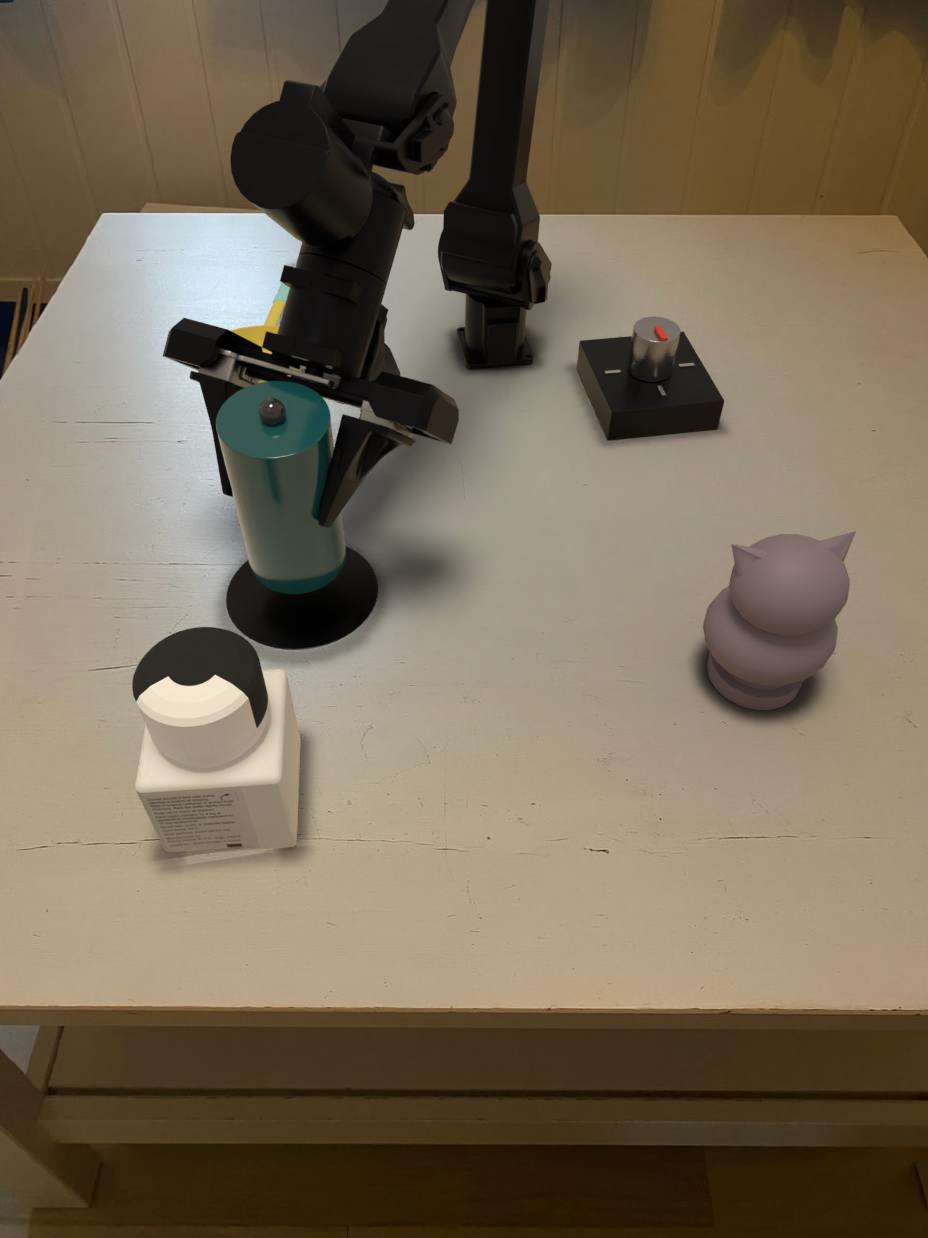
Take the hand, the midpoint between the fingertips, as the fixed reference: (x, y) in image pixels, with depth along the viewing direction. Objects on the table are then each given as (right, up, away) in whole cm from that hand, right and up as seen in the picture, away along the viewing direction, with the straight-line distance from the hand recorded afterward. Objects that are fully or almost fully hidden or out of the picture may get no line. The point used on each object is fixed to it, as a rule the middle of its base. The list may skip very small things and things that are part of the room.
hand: (276, 510), depth 61 cm
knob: (+29, +15, +23) cm, 40 cm away
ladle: (-6, +21, +32) cm, 38 cm away
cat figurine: (+32, -11, +4) cm, 34 cm away
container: (-2, -18, -3) cm, 18 cm away
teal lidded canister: (0, -3, +6) cm, 6 cm away
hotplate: (0, -5, +8) cm, 10 cm away
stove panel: (+29, +13, +25) cm, 40 cm away
